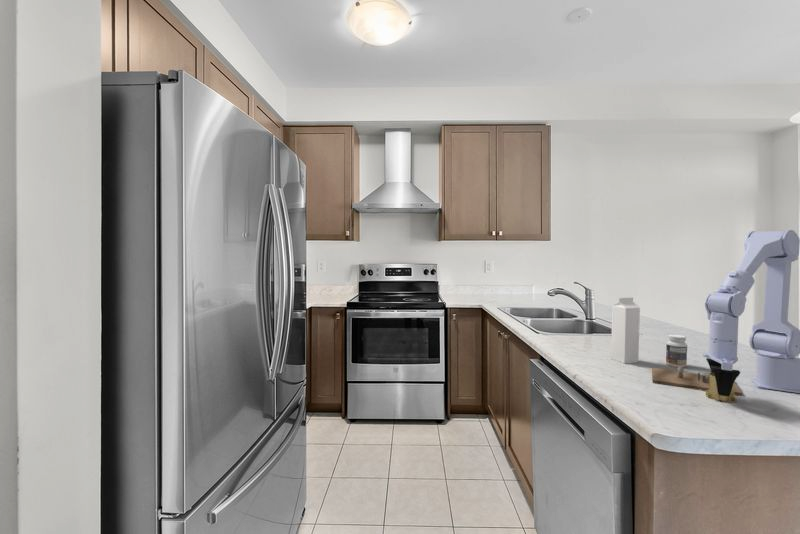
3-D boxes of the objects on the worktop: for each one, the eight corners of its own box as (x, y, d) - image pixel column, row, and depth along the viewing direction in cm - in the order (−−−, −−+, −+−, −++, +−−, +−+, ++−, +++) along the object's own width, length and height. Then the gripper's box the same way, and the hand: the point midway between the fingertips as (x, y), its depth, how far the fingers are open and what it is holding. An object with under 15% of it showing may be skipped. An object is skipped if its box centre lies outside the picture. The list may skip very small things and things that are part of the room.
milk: (638, 362, 138) (640, 298, 137) (624, 363, 136) (626, 298, 135) (624, 357, 144) (626, 296, 143) (610, 359, 142) (612, 296, 141)
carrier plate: (732, 381, 118) (732, 368, 118) (741, 395, 107) (742, 381, 106) (651, 370, 129) (652, 358, 129) (652, 382, 117) (652, 369, 117)
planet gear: (734, 396, 106) (734, 374, 106) (738, 404, 101) (739, 380, 100) (704, 392, 109) (705, 370, 109) (707, 399, 104) (708, 376, 104)
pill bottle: (666, 361, 139) (667, 333, 138) (687, 364, 135) (688, 335, 135) (664, 365, 134) (665, 335, 134) (685, 368, 131) (686, 338, 130)
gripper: (700, 332, 112) (698, 380, 113) (707, 342, 100) (705, 396, 101) (733, 335, 109) (731, 384, 109) (744, 346, 96) (742, 402, 97)
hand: (721, 390), depth 105 cm, fingers open, 7 cm apart
